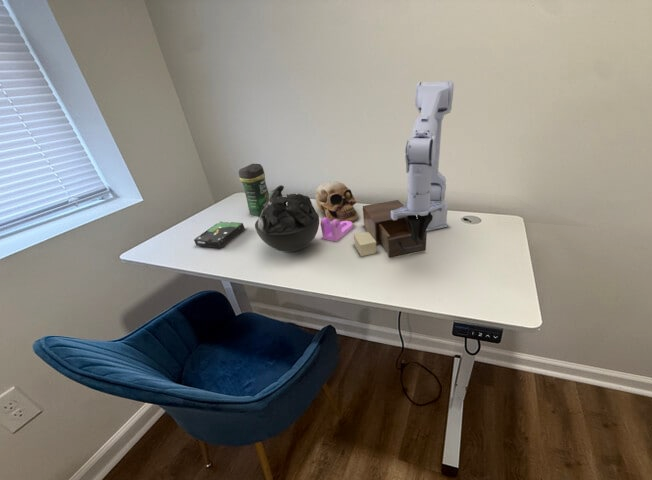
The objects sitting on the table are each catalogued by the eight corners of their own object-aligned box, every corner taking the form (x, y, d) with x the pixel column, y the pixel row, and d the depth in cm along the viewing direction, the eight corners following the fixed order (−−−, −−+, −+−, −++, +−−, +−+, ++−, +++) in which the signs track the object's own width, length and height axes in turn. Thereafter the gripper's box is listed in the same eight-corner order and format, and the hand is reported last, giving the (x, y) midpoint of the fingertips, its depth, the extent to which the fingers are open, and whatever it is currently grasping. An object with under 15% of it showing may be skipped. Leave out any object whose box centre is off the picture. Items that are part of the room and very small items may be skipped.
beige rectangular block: (369, 242, 107) (368, 231, 105) (376, 252, 101) (376, 241, 99) (354, 245, 106) (353, 234, 103) (361, 256, 100) (360, 245, 98)
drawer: (432, 258, 96) (434, 239, 92) (394, 266, 93) (394, 247, 89) (409, 232, 110) (409, 215, 106) (375, 238, 107) (374, 221, 103)
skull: (355, 223, 119) (348, 187, 111) (312, 225, 123) (302, 191, 115) (364, 207, 131) (358, 174, 123) (325, 210, 135) (317, 178, 128)
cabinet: (413, 236, 109) (414, 215, 104) (376, 244, 106) (374, 222, 101) (398, 220, 120) (398, 199, 115) (364, 226, 117) (362, 205, 112)
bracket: (336, 241, 109) (333, 222, 104) (322, 238, 111) (319, 220, 107) (355, 225, 117) (354, 207, 113) (343, 223, 120) (340, 205, 115)
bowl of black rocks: (312, 265, 97) (300, 206, 86) (252, 262, 101) (233, 205, 89) (330, 234, 113) (322, 181, 101) (278, 232, 116) (264, 180, 105)
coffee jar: (263, 217, 127) (250, 169, 116) (247, 215, 130) (232, 168, 118) (277, 207, 135) (265, 162, 123) (261, 206, 137) (248, 161, 125)
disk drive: (221, 249, 109) (245, 229, 120) (218, 242, 107) (243, 222, 118) (196, 246, 111) (221, 227, 122) (192, 239, 109) (219, 220, 120)
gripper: (397, 200, 75) (397, 250, 83) (452, 191, 78) (447, 240, 86) (387, 190, 80) (388, 239, 89) (439, 182, 83) (436, 229, 92)
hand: (417, 239), depth 88 cm, fingers closed
